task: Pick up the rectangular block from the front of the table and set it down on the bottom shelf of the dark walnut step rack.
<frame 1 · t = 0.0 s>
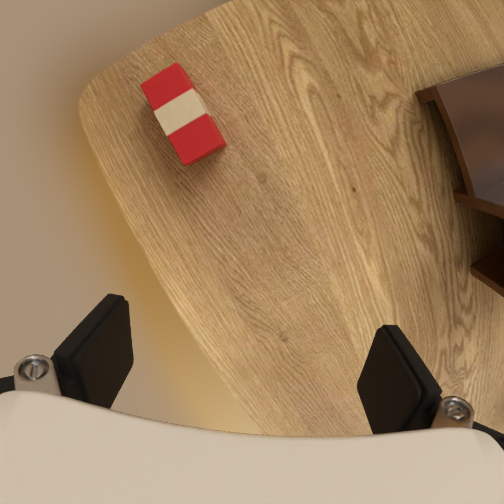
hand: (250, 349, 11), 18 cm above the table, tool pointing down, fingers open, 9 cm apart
rectangular block: (187, 116, 24), on the table
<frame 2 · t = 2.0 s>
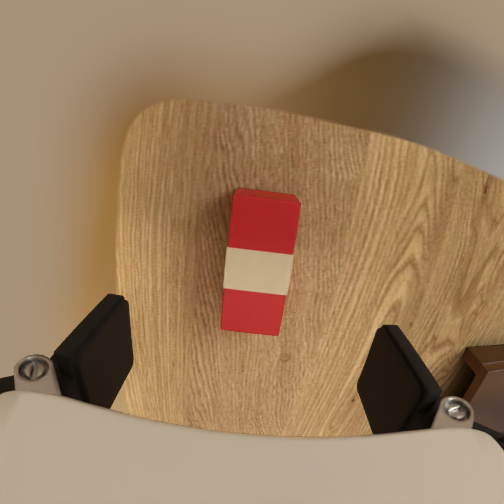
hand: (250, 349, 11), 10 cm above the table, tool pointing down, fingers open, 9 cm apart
step rack: (478, 414, 25), on the table
rectangular block: (258, 254, 20), on the table
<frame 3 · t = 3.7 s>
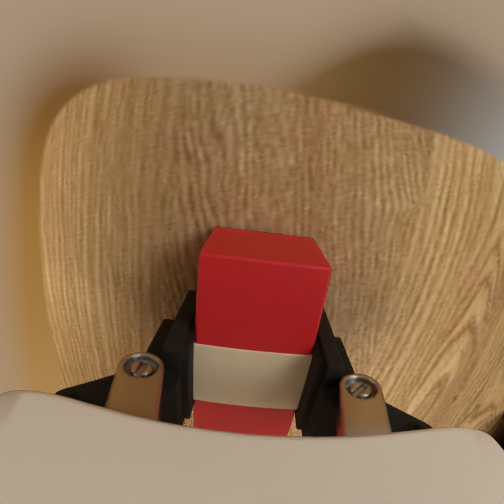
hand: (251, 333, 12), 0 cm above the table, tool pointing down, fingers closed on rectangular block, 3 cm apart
rectangular block: (251, 330, 12), on the table, touching gripper
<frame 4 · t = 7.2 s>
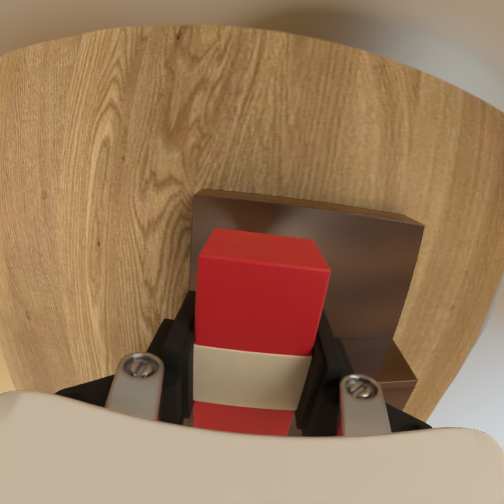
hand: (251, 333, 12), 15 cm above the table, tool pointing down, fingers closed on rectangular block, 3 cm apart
step rack: (292, 311, 29), on the table
rectangular block: (250, 331, 12), point 15 cm above the table, touching gripper
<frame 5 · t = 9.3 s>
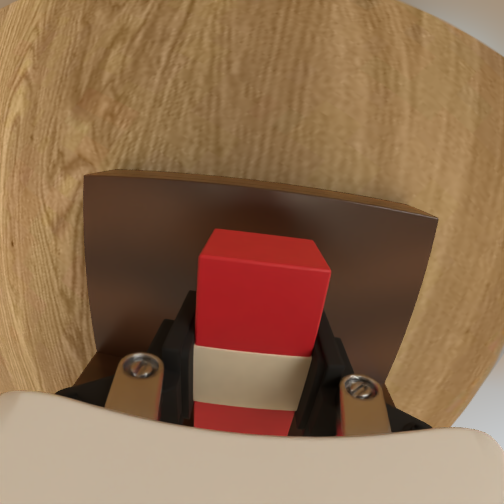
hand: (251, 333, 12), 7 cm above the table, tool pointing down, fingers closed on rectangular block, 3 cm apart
step rack: (244, 339, 20), on the table
rectangular block: (251, 332, 12), point 7 cm above the table, touching gripper
when the fingers open (4 cm above the table, at t = 10.5 s): rectangular block stays where it is, resting on step rack.
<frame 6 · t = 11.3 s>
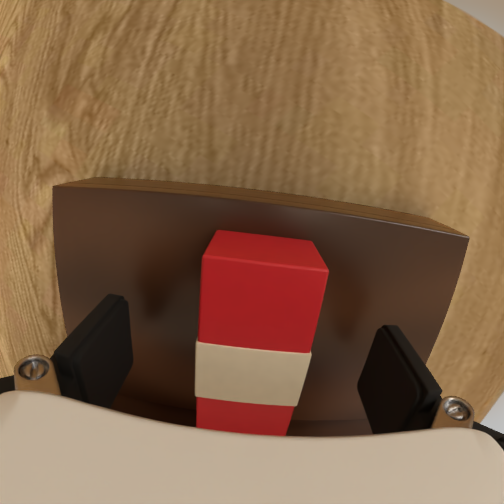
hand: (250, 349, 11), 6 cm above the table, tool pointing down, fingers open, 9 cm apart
step rack: (242, 368, 18), on the table
rectangular block: (252, 330, 12), point 4 cm above the table, touching step rack
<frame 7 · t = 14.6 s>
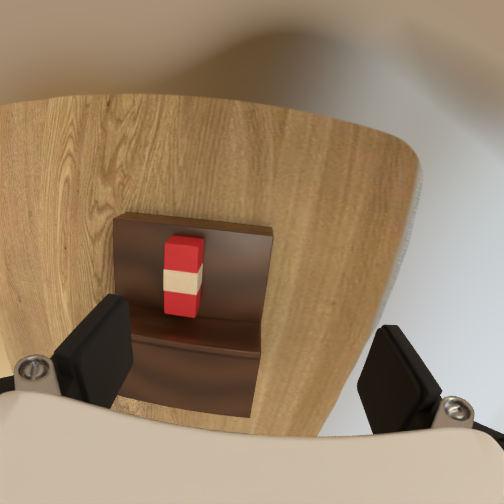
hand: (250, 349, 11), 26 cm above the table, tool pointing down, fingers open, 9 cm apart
step rack: (191, 298, 39), on the table
rectangular block: (186, 271, 34), point 4 cm above the table, touching step rack
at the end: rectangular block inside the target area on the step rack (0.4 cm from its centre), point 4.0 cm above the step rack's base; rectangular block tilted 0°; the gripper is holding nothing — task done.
